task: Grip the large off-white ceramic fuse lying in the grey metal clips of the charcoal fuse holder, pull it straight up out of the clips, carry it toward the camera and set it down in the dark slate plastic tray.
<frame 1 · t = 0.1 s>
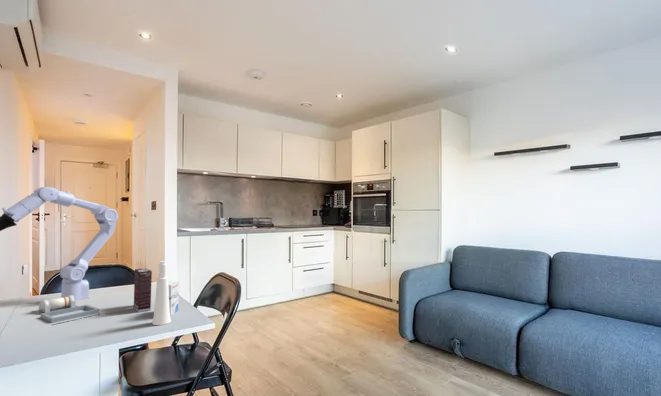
tray: (70, 317, 131), on the table
fuse holder: (57, 311, 138), on the table
ink box: (168, 313, 137), on the table
cosmetic bottle: (161, 323, 125), on the table
supplement box: (142, 309, 142), on the table
fuse: (57, 309, 138), point 1 cm above the table, touching fuse holder
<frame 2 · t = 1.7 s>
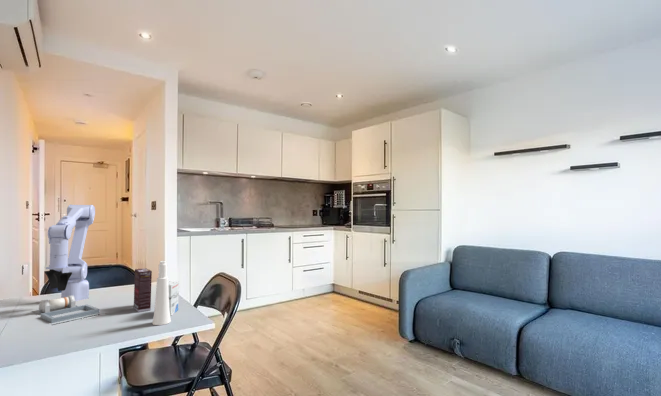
hand: (57, 289, 138), 9 cm above the table, tool pointing down, fingers open, 7 cm apart
fuse: (57, 309, 138), point 1 cm above the table, tilted 10°, touching fuse holder
everything else where it was.
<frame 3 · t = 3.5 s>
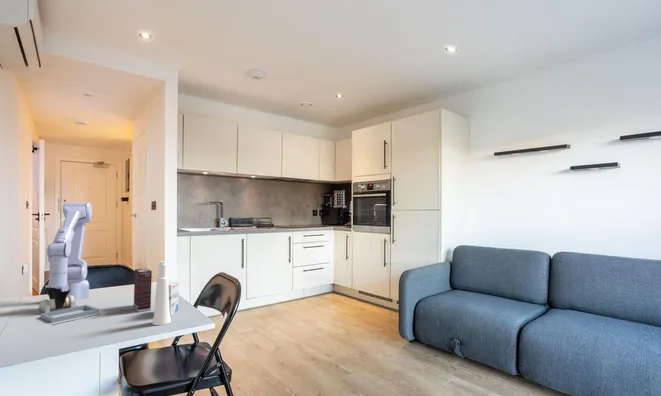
hand: (57, 307, 138), 2 cm above the table, tool pointing down, fingers closed on fuse, 4 cm apart
fuse: (57, 309, 138), point 1 cm above the table, touching fuse holder, gripper
everything else where it was.
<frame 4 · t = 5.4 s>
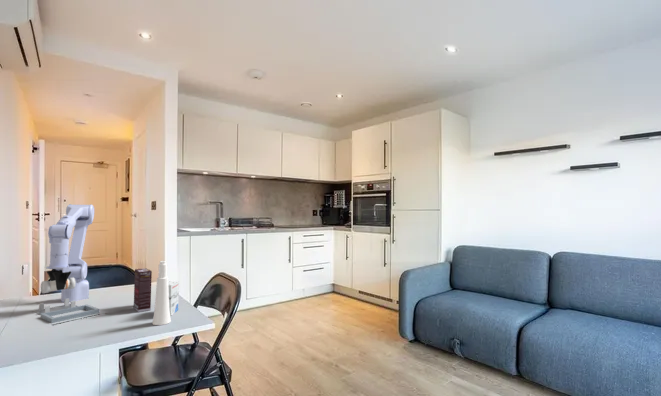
hand: (58, 288, 138), 9 cm above the table, tool pointing down, fingers closed on fuse, 4 cm apart
fuse: (58, 290, 138), point 8 cm above the table, touching gripper
everything else where it was.
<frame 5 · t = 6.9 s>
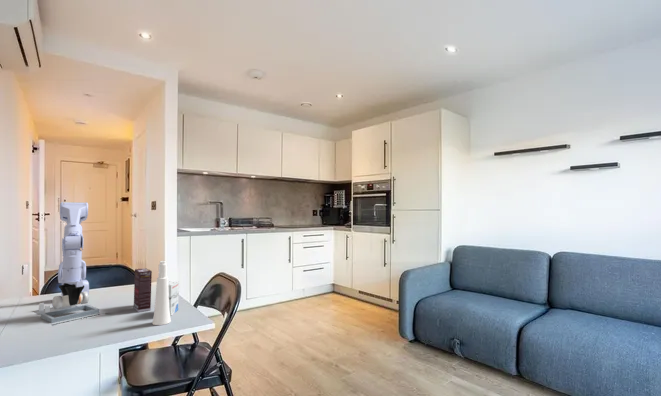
hand: (70, 304, 131), 5 cm above the table, tool pointing down, fingers closed on fuse, 4 cm apart
fuse: (70, 306, 131), point 4 cm above the table, touching gripper
everything else where it was.
when the fingers open (3 cm above the table, at t = 7.7 s): fuse drops 1 cm, resting on tray.
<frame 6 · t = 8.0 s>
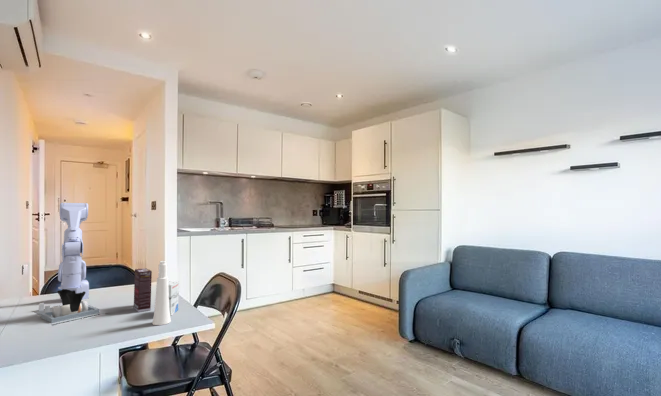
hand: (70, 309, 131), 3 cm above the table, tool pointing down, fingers open, 6 cm apart
fuse: (70, 315, 131), point 1 cm above the table, touching tray
everything else where it was.
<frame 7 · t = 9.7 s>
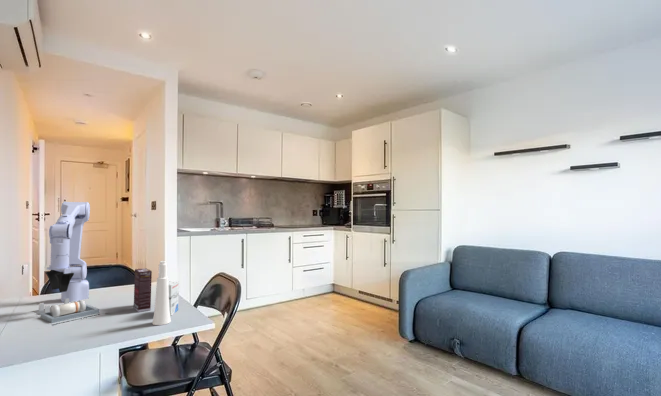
hand: (59, 290, 134), 9 cm above the table, tool pointing down, fingers open, 7 cm apart
fuse: (70, 313, 131), point 1 cm above the table, tilted 55°, touching tray
everything else where it was.
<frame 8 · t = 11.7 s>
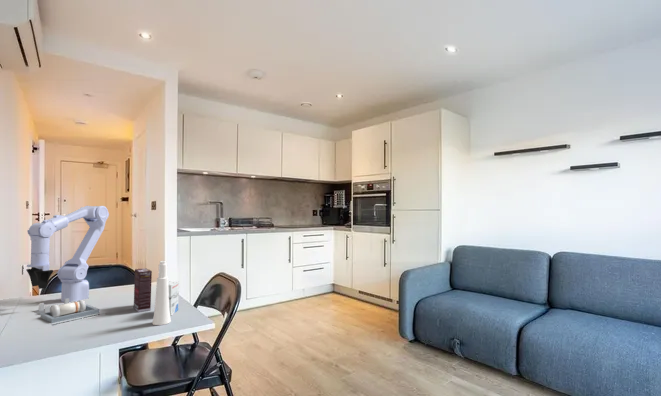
hand: (39, 287, 139), 9 cm above the table, tool pointing down, fingers open, 7 cm apart
nothing on the table moved.
at the end: fuse inside the target area on the tray (0.4 cm from its centre), point 1.5 cm above the tray's base; the gripper is holding nothing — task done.
